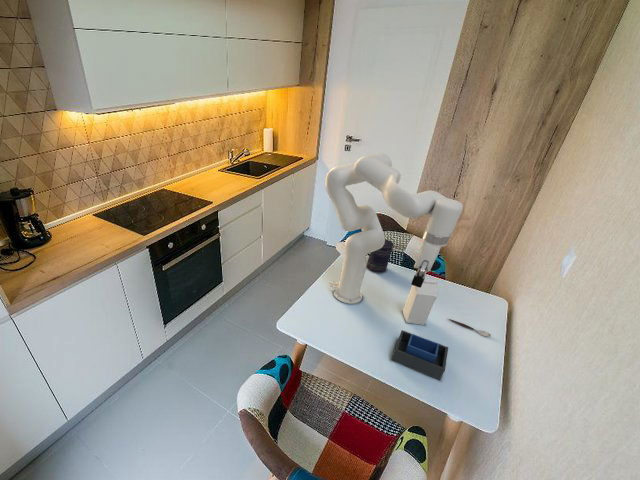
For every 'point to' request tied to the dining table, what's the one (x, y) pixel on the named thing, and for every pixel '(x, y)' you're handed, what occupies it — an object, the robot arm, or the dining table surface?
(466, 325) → the fork
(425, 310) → the milk carton
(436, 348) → the nested bin
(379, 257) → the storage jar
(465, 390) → the dining table surface
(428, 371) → the base bin
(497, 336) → the dining table surface
